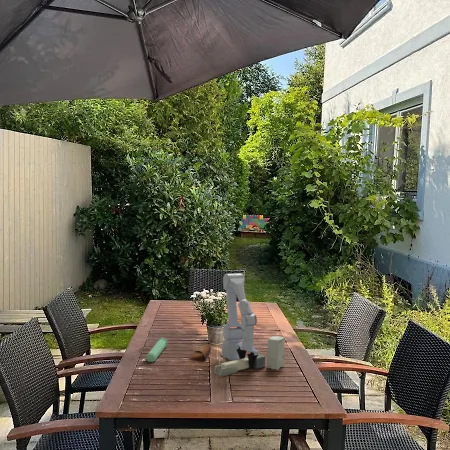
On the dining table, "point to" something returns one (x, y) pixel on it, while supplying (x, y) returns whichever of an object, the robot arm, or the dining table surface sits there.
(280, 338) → the skincare box
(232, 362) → the inner rod
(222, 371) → the sleeve
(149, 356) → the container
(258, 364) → the socket
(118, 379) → the dining table surface
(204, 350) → the sunglasses case
